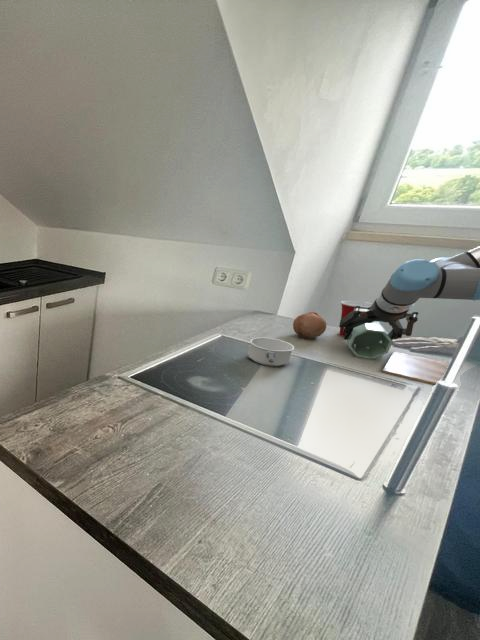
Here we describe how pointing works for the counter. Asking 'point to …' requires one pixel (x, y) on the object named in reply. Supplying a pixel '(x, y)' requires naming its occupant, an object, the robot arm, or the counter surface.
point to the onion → (309, 325)
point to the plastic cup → (351, 309)
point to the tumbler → (369, 340)
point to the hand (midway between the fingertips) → (365, 338)
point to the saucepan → (270, 351)
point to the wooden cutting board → (415, 367)
